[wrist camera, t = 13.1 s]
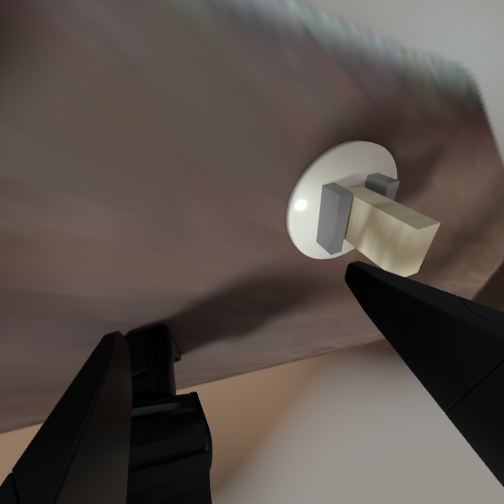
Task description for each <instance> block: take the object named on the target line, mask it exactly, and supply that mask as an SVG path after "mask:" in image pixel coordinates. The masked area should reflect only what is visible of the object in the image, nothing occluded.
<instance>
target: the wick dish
mask: <svg viewBox="0 0 504 504" xmlns="http://www.w3.org/2000/svg"><path fill="white" fill-rule="evenodd" d="M399 183H400V181H399V180H397V168H396V164H395V161H394V159H393V157H392V155H391V154H390V153H389V151H387V150H386V149H385V148H384V147H382V146H380V145H378V144H375V143H371V142H367V141H361V140H353V141H347V142H343V143H340V144H338V145H336V146H333V147H332V148H330V149H328V150H326V151H325V152H324V153H322V154H321V155H320V156H318V157H317V158H316V159H315V160H314V161H313V162H312V163H311V164H310V165H309V166H308V167H307V168H306V170H305V171H304V172H303V174H302V175H301V176H300V178H299V179H298V181H297V183H296V185H295V186H294V188H293V191H292V193H291V195H290V198H289V202H288V206H287V210H286V227H287V232H288V234H289V237H290V239H291V240H292V242H293V243H294V244H295V246H296V247H297V248H298V249H299V250H300V251H301V252H302V253H304V254H305V255H307V256H309V257H312V258H316V259H329V258H334V257H337V256H340V255H343V254H345V253H347V252H349V251H351V250H352V249H354V248H355V247H354V246H353V245H351V244H350V243H349V242H347V241H346V240H345V239H344V236H345V231H346V226H347V221H348V216H349V211H350V206H351V201H352V195H353V192H352V191H350V190H348V189H346V188H345V187H349V186H353V185H357V184H358V185H361V186H363V187H365V188H367V189H369V190H371V191H373V192H376V193H378V194H380V195H382V196H384V197H386V198H389V199H391V200H393V201H394V199H395V196H396V193H397V189H398V186H399Z"/></svg>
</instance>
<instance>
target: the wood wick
mask: <svg viewBox="0 0 504 504" xmlns="http://www.w3.org/2000/svg"><path fill="white" fill-rule="evenodd" d="M345 188H346V189H348V190H350V191H352V192H353V195H352V201H351V206H350V211H349V216H348V221H347V226H346V231H345V236H344V239H345V240H346V241H347V242H349V243H350V244H351V245H353V246H354V247H355V248H356V249H358V250H359V251H360V252H362V253H363V254H364V255H365V256H367V257H368V258H369V259H371V260H372V261H373V262H374V263H376V264H377V265H378V266H380V267H381V268H382V269H384V270H386V271H389V272H391V273H394V274H397V275H400V276H403V277H407V276H409V275H412V274H415V273H417V272H418V270H419V268H420V266H421V264H422V261H423V259H424V257H425V255H426V253H427V251H428V249H429V246H430V244H431V242H432V240H433V238H434V236H435V234H436V232H437V229H438V227H439V225H440V222H438V221H436V220H434V219H432V218H430V217H428V216H425V215H423V214H421V213H419V212H417V211H415V210H412V209H410V208H408V207H406V206H404V205H402V204H399V203H397V202H395V201H393V200H391V199H389V198H386V197H384V196H382V195H380V194H378V193H376V192H373V191H371V190H369V189H367V188H365V187H363V186H361V185H358V184H357V185H353V186H349V187H345Z"/></svg>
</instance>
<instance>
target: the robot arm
mask: <svg viewBox="0 0 504 504" xmlns="http://www.w3.org/2000/svg"><path fill="white" fill-rule="evenodd" d="M345 282H346V284H347V285H348V287H349V288H350V290H351V291H352V293H353V294H354V296H355V298H356V299H357V301H358V302H359V304H360V305H361V307H362V308H363V310H364V311H365V313H366V314H367V315H368V317H369V318H370V319H371V320H372V322H373V323H374V324H375V325H376V327H377V328H378V329H379V330H380V332H381V333H382V334H383V336H384V337H385V338H386V339H387V341H388V342H389V343H390V344H391V345H392V347H393V348H394V349H395V351H396V352H397V353H398V354H399V356H400V357H401V358H402V359H403V361H404V362H405V363H406V364H407V366H408V367H409V368H410V370H411V371H412V372H413V373H414V375H415V376H416V377H417V378H418V380H419V381H420V382H421V383H422V385H423V386H424V387H425V388H426V390H427V391H428V392H429V393H430V395H431V396H432V397H433V399H434V400H435V401H436V402H437V404H438V405H439V406H440V407H441V409H442V410H443V411H444V412H445V414H446V415H447V416H448V418H449V419H450V420H451V422H452V423H453V424H454V425H455V427H456V428H457V429H458V430H459V432H460V433H461V434H462V435H463V437H464V438H465V439H466V441H467V442H468V443H469V444H470V446H471V447H472V448H473V449H474V451H475V452H476V453H477V454H478V456H479V457H480V458H481V459H482V461H483V462H484V463H485V465H486V466H487V467H488V468H489V469H490V471H491V472H492V473H493V475H494V476H495V477H496V478H497V480H498V481H499V482H500V483H501V484H502V486H503V487H504V311H501V310H498V309H495V308H491V307H488V306H485V305H482V304H479V303H476V302H474V301H471V300H468V299H465V298H462V297H459V296H458V297H457V296H456V295H454V294H451V293H448V292H445V291H442V290H440V289H437V288H434V287H431V286H428V285H425V284H423V283H420V282H417V281H414V280H411V279H408V278H406V277H403V276H400V275H397V274H394V273H391V272H389V271H386V270H383V269H380V268H377V267H375V266H372V265H369V264H366V263H363V262H360V261H355V262H351V263H349V264H348V266H347V270H346V274H345ZM180 360H181V354H180V352H179V350H178V348H177V346H176V344H175V342H174V339H173V337H172V335H171V333H170V331H169V329H168V327H167V326H165V325H162V326H158V327H155V328H152V329H149V330H146V331H143V332H140V333H137V334H134V335H131V336H128V337H125V338H124V337H123V335H122V333H121V332H120V331H115V332H111V333H108V334H106V335H104V336H103V338H102V339H101V341H100V342H99V344H98V345H97V346H96V348H95V349H94V351H93V352H92V354H91V355H90V357H89V358H88V360H87V361H86V362H85V364H84V365H83V367H82V368H81V370H80V371H79V373H78V374H77V376H76V377H75V378H74V380H73V381H72V383H71V384H70V386H69V387H68V389H67V390H66V392H65V393H64V394H63V396H62V397H61V399H60V400H59V402H58V403H57V405H56V406H55V408H54V409H53V410H52V412H51V413H50V415H49V416H48V418H47V419H46V421H45V422H44V424H43V425H42V426H41V428H40V430H39V431H38V432H37V434H36V435H35V437H34V438H33V440H32V441H31V443H30V444H29V445H28V447H27V448H26V450H25V451H24V453H23V454H22V456H21V457H20V459H19V460H18V461H17V463H16V464H15V466H14V467H13V469H12V473H10V474H9V475H8V476H7V477H6V479H5V480H4V482H3V483H2V485H1V486H0V504H212V500H211V491H210V468H211V463H212V439H211V434H210V429H209V426H208V423H207V421H206V418H205V415H204V412H203V409H202V406H201V404H200V400H199V397H198V394H197V392H191V393H190V394H182V395H176V386H175V375H174V364H173V363H175V362H178V361H180Z"/></svg>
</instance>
